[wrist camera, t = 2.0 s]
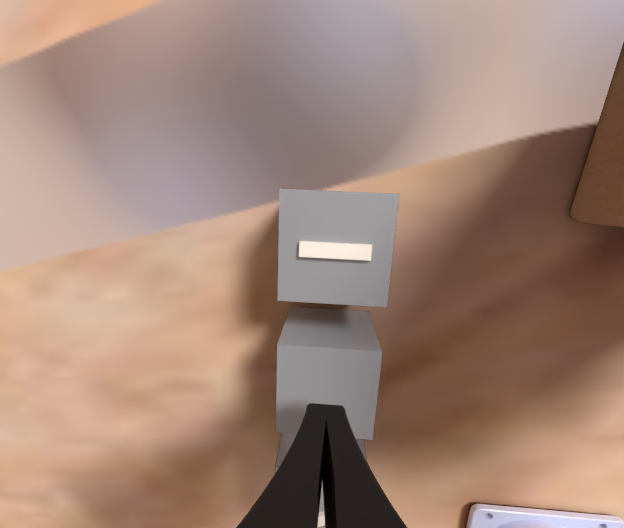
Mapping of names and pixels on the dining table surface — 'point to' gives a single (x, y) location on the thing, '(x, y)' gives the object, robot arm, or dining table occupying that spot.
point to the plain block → (328, 367)
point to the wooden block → (605, 162)
